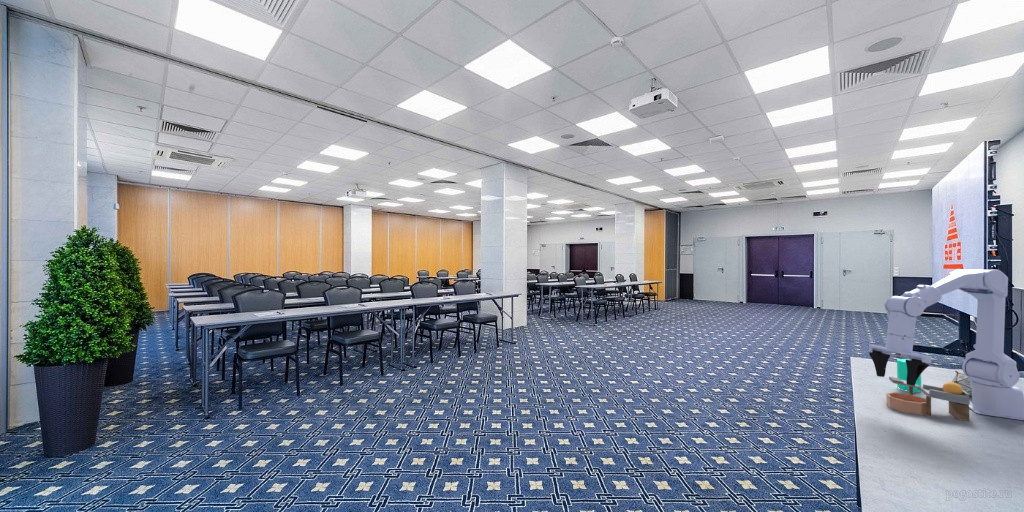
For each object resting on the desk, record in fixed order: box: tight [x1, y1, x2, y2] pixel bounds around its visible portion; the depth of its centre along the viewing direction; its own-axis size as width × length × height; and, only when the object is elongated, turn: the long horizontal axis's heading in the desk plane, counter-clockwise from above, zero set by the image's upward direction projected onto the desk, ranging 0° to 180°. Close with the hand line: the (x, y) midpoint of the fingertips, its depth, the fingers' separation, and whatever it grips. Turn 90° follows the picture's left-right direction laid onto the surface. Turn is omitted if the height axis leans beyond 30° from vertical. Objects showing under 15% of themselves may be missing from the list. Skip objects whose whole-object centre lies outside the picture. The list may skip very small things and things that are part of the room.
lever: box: [888, 376, 971, 405], centre depth 120 cm, size 14×15×3 cm
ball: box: [942, 381, 963, 395], centre depth 114 cm, size 4×4×4 cm
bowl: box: [885, 392, 927, 416], centre depth 119 cm, size 9×9×4 cm
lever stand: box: [908, 386, 970, 421], centre depth 118 cm, size 9×17×6 cm, turn 146°
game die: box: [951, 370, 972, 396], centre depth 130 cm, size 9×8×10 cm
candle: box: [896, 358, 922, 393], centre depth 137 cm, size 6×6×12 cm
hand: (895, 380), depth 114 cm, fingers open, 7 cm apart
